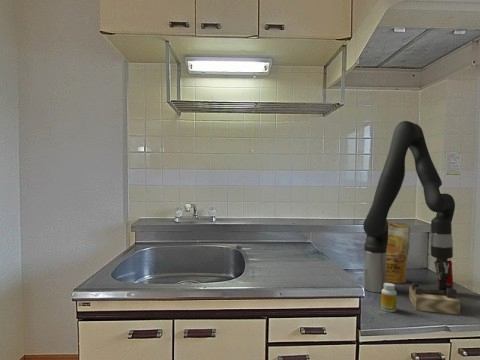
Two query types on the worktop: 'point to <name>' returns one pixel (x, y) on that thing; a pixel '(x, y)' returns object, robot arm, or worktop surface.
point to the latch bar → (431, 289)
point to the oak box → (435, 300)
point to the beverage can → (450, 278)
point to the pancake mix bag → (397, 252)
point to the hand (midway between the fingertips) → (442, 288)
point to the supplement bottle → (388, 297)
